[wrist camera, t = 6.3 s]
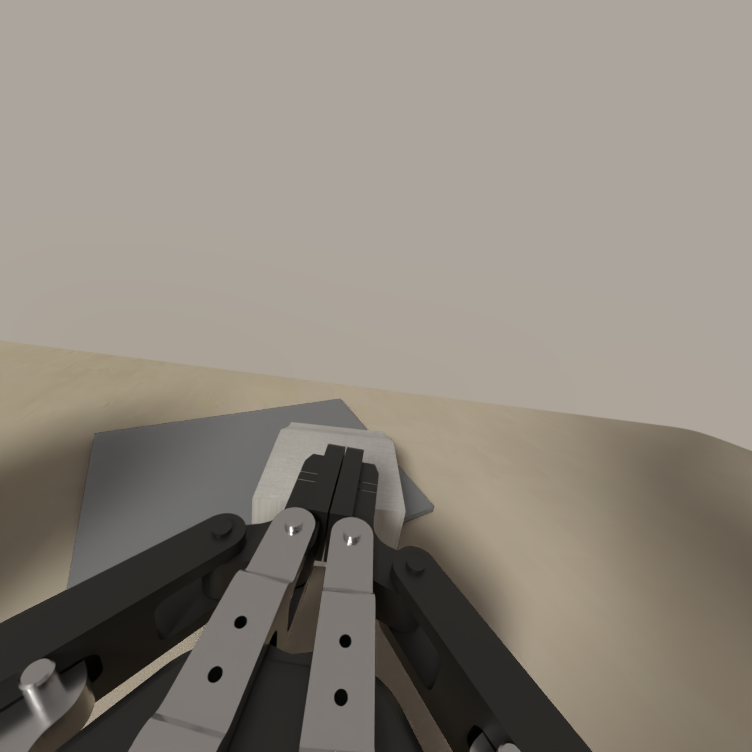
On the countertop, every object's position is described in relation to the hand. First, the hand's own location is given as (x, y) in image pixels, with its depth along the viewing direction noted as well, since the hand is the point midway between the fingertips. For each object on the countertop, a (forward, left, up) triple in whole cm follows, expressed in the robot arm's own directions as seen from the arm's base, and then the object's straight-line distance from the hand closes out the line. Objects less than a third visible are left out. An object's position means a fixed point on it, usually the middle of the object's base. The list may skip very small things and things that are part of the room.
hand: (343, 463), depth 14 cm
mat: (+1, -8, -7) cm, 11 cm away
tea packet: (0, 0, -4) cm, 4 cm away
